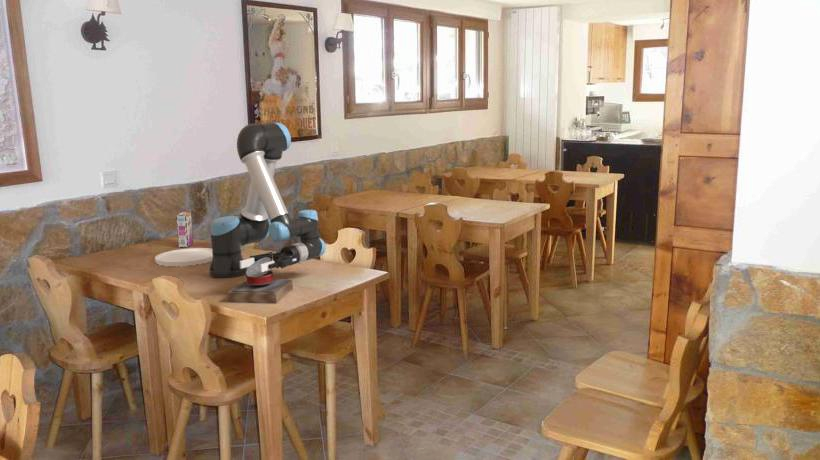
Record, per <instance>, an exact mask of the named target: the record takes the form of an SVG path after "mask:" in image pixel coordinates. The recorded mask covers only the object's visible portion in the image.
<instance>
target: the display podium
mask: <svg viewBox="0 0 820 460" xmlns="http://www.w3.org/2000/svg"><path fill="white" fill-rule="evenodd" d="M293 284H294V282H293V280H292V279H274V281H273V282H271V283H269V284H264V285H250V284H247V283H246V279H245V280H244V281H243V282H241V283H239V284H238V285H237V286H235V287H234V288H232V289H231V290H229V291H228V292H227V299H228V300H227V301H228V303H240V302H245V303H244V304H246V302H248V303H247V304H250V303H251V304H278V303H279V302H280V301H281V300H282V299H283V298H285V297H286V296H287V295H288V294H289V293H290V292H292V291H293V289H294V285H293ZM277 302H278V303H277Z"/></svg>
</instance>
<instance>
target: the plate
mask: <svg viewBox="0 0 820 460" xmlns="http://www.w3.org/2000/svg"><path fill="white" fill-rule="evenodd" d="M212 257H213V255H212V248H208V247H207V248H206V247H190V248H189V247H187V248H179V249H174V250H173V249H172V250H169V251H165V252H161V253H159V254H156V256H154V262H156V263H157V264H159V265H158V266H161V265H164V266H163V267H168V266H176V267H177V266H180V267H189V266H188V265H193V266H197V265H196V264H199V265H203V264H202V263H204V264H207V263H206V262H209V263H211V262H210V261H212ZM156 263H155V264H156ZM157 264H156V265H157ZM176 267H175V268H176Z"/></svg>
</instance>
